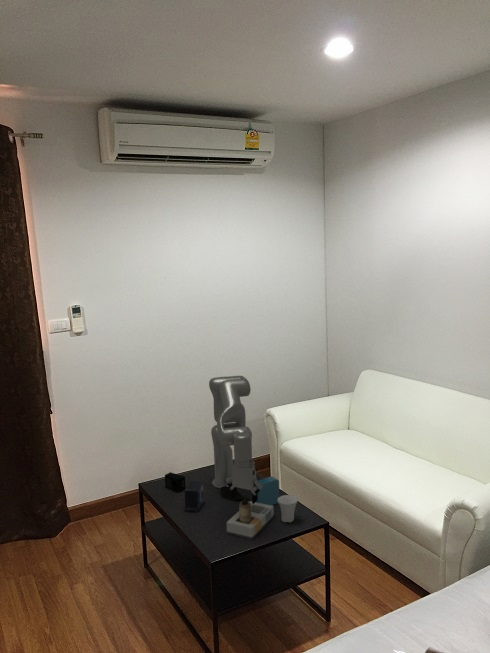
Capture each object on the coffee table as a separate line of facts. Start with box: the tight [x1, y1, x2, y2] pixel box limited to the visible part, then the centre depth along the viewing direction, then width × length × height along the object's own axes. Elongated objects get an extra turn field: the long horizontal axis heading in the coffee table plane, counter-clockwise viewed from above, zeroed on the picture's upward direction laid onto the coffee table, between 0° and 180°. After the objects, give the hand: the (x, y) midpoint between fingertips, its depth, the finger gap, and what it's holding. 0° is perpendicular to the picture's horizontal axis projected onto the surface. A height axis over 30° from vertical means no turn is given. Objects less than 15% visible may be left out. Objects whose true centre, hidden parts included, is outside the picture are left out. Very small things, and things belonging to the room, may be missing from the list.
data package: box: [254, 476, 280, 506], centre depth 251 cm, size 12×4×12 cm, turn 123°
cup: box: [277, 494, 299, 523], centre depth 236 cm, size 9×9×10 cm
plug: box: [238, 499, 251, 524], centre depth 228 cm, size 5×5×12 cm
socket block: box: [226, 501, 275, 540], centre depth 233 cm, size 22×12×5 cm, turn 152°
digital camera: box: [164, 471, 187, 493], centre depth 272 cm, size 10×5×7 cm, turn 53°
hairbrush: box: [219, 485, 252, 502], centre depth 258 cm, size 8×4×25 cm
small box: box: [184, 480, 205, 513], centre depth 251 cm, size 11×6×10 cm, turn 168°
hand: (244, 500), depth 228 cm, fingers open, 9 cm apart
